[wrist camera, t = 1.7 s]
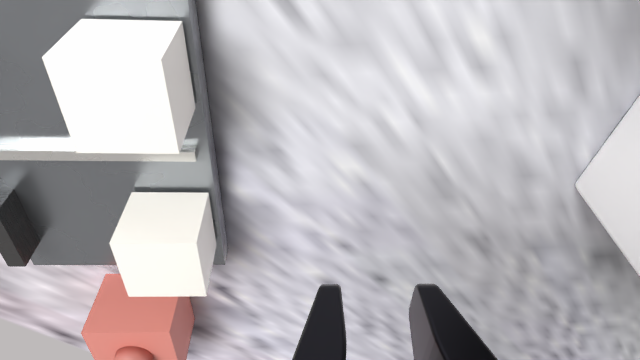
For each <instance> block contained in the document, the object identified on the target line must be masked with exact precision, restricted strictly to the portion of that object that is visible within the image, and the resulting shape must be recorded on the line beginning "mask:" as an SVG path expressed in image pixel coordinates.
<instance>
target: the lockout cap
mask: <svg viewBox="0 0 640 360" xmlns="http://www.w3.org/2000/svg"><path fill="white" fill-rule="evenodd" d="M194 320H195V318H194V314H193V310H192V305H191V301H190V297H189V296H178V297H129V296H128V294H127V291H126V288H125V285H124V283H123V280H122V277H121V274H106V275H105V277H104V280H103V282H102V284H101V287H100V289H99V292H98V294H97V296H96V299H95V301H94V303H93V306H92V308H91V311H90V313H89V315H88V318H87V320H86V322H85V325H84V327H83V330H82V332H81V334H82V336H83V338H84V340H85V342H86V344H87V346H88V348H89V350H90V352H91V354H92V356H93V358H94V359H95V360H186V358H187V353H188V348H189V344H190V339H191V334H192V329H193V325H194Z"/></svg>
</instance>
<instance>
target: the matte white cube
mask: <svg viewBox="0 0 640 360" xmlns="http://www.w3.org/2000/svg"><path fill="white" fill-rule="evenodd" d="M109 244H110V247H111V250H112V252H113V255H114V258H115V261H116V263H117V266H118V269H119V272H120V274H121V277H122V280H123V283H124V285H125V288H126V291H127V294H128V296H129V297H178V296H207V292H208V286H209V281H210V276H211V271H212V266H213V260H214V255H215V250H216V238H215V232H214V225H213V219H212V212H211V206H210V199H209V193H187V192H132V193H131V195H130V197H129V199H128V202H127V204H126V206H125V208H124V211H123V213H122V215H121V218H120V220H119V222H118V224H117V227H116V229H115V231H114V234H113V236H112V238H111V240H110V243H109Z"/></svg>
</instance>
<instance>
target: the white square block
mask: <svg viewBox="0 0 640 360" xmlns="http://www.w3.org/2000/svg"><path fill="white" fill-rule="evenodd" d="M42 59H43V62H44V65H45V67H46V70H47V73H48V76H49V78H50V81H51V84H52V87H53V89H54V92H55V95H56V98H57V100H58V103H59V106H60V109H61V112H62V114H63V117H64V120H65V123H66V125H67V128H68V131H69V134H70V136H71V139H72V142H73V145H74V147H75V150H76V153H137V154H179V153H180V150H181V147H182V145H183V142H184V139H185V136H186V133H187V130H188V127H189V125H190V122H191V119H192V116H193V113H194V110H195V101H194V95H193V88H192V82H191V75H190V68H189V62H188V55H187V49H186V42H185V36H184V29H183V23H182V21H157V20H112V19H81V20H80V21H79V22H78V23H77V24H76V25H75V26H73V27H72V28H71V29H70V30H69V31H68V32H67V33H66V34H65V35H64V36H63V37H62V38H61V39H60V40H59V41H58V42H57V43H56V44H55V45H54V46H53V47H52V48H51V49H50V50H49V51H48V52H47V53H46V54H45V55H44V56H42Z"/></svg>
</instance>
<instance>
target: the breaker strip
mask: <svg viewBox="0 0 640 360" xmlns="http://www.w3.org/2000/svg"><path fill="white" fill-rule="evenodd" d="M81 19H112V20H157V21H182V23H183V29H184V36H185V42H186V49H187V55H188V62H189V68H190V75H191V82H192V88H193V95H194V101H195V110H194V113H193V116H192V119H191V122H190V125H189V127H188V130H187V133H186V136H185V139H184V142H183V145H182V147H181V150H180V153H179V154H137V153H76V150H75V147H74V145H73V142H72V139H71V136H70V134H69V131H68V128H67V125H66V123H65V120H64V117H63V114H62V112H61V109H60V106H59V103H58V100H57V98H56V95H55V92H54V89H53V87H52V84H51V81H50V78H49V76H48V73H47V70H46V67H45V65H44V62H43V59H42V56H44V55H45V54H46V53H47V52H48V51H49V50H50V49H51V48H52V47H53V46H54V45H55V44H56V43H57V42H58V41H59V40H60V39H61V38H62V37H63V36H64V35H65V34H66V33H67V32H68V31H69V30H70V29H71V28H72V27H73V26H75V25H76V24H77V23H78V22H79V21H80V20H81ZM132 192H187V193H209V199H210V206H211V212H212V219H213V225H214V232H215V238H216V250H215V255H214V260H213V265H225V262H226V256H227V250H228V245H227V237H226V230H225V222H224V215H223V207H222V199H221V192H220V184H219V177H218V169H217V161H216V154H215V146H214V139H213V131H212V124H211V116H210V108H209V101H208V93H207V86H206V78H205V70H204V63H203V55H202V48H201V40H200V32H199V25H198V17H197V10H196V2H195V0H0V253H1V255H2V256H3V258H4V260H5V261H6V263H7V265H8V266H26V265H27V263H28V262H29V260H30V258H31V260H32V262H33V264H34V265H117V263H116V261H115V258H114V255H113V252H112V250H111V247H110V244H109V243H110V240H111V238H112V236H113V234H114V231H115V229H116V227H117V224H118V222H119V220H120V218H121V215H122V213H123V211H124V208H125V206H126V204H127V202H128V199H129V197H130V195H131V193H132Z"/></svg>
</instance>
